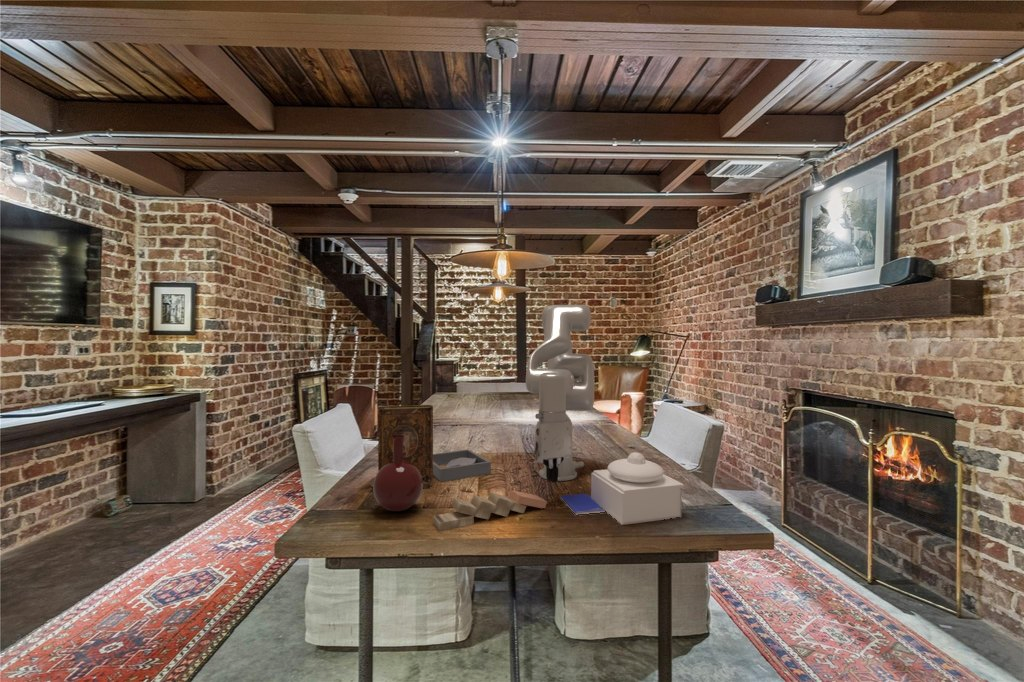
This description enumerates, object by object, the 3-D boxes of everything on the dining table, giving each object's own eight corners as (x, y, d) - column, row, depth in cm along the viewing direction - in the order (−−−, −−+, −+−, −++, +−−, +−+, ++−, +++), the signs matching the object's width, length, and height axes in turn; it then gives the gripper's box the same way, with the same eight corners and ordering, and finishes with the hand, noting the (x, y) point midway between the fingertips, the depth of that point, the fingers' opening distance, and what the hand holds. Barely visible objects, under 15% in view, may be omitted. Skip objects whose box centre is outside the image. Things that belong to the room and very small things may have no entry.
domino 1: (466, 509, 121) (433, 515, 117) (473, 516, 117) (439, 522, 112) (466, 517, 121) (433, 523, 117) (473, 524, 117) (439, 531, 112)
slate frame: (468, 459, 174) (468, 449, 174) (490, 473, 157) (490, 462, 157) (422, 466, 166) (422, 455, 165) (440, 481, 149) (440, 469, 149)
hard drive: (604, 509, 124) (587, 493, 136) (575, 511, 122) (560, 495, 134) (604, 515, 124) (587, 498, 136) (575, 517, 122) (560, 500, 134)
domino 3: (501, 503, 126) (473, 494, 122) (510, 509, 121) (481, 501, 117) (499, 510, 125) (470, 502, 122) (507, 517, 121) (478, 508, 117)
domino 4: (517, 500, 128) (490, 491, 124) (526, 506, 124) (498, 497, 120) (515, 507, 128) (487, 498, 124) (523, 513, 123) (495, 505, 119)
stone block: (445, 481, 155) (474, 476, 155) (442, 467, 155) (471, 462, 155) (451, 472, 167) (478, 467, 166) (448, 459, 167) (475, 454, 167)
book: (432, 482, 148) (432, 404, 148) (433, 488, 143) (433, 407, 142) (379, 485, 145) (379, 406, 144) (378, 491, 140) (377, 409, 139)
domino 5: (537, 495, 131) (511, 490, 127) (547, 501, 127) (519, 495, 123) (535, 502, 131) (509, 497, 127) (545, 508, 127) (517, 503, 123)
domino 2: (484, 505, 124) (454, 497, 120) (491, 512, 119) (460, 504, 116) (481, 513, 123) (451, 505, 120) (488, 519, 119) (457, 511, 115)
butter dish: (591, 501, 133) (591, 446, 133) (646, 495, 138) (646, 442, 137) (621, 525, 116) (622, 462, 116) (683, 518, 121) (684, 457, 121)
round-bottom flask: (363, 510, 125) (363, 436, 125) (404, 497, 135) (404, 429, 135) (391, 524, 116) (391, 445, 116) (432, 509, 126) (432, 436, 126)
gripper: (536, 421, 123) (536, 489, 124) (582, 416, 130) (581, 480, 131) (522, 416, 130) (522, 480, 131) (567, 411, 137) (566, 473, 138)
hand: (552, 480), depth 131 cm, fingers closed
